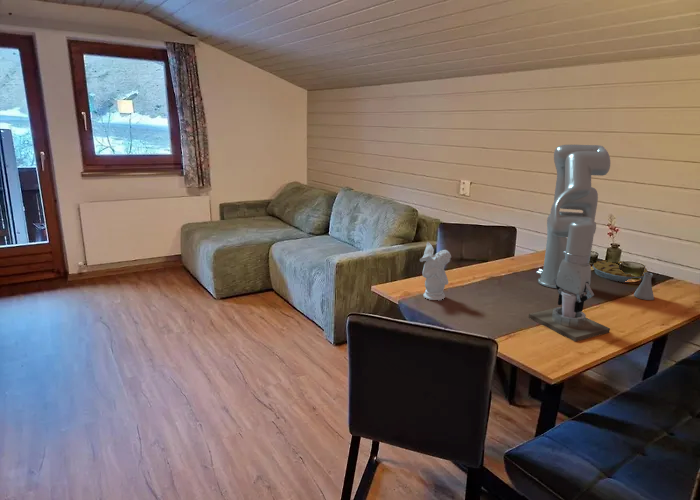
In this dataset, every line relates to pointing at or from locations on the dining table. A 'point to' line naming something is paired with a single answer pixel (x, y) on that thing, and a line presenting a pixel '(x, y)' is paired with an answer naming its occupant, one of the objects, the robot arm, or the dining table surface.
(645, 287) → the flask
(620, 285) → the dining table surface
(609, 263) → the pie
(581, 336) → the board
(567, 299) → the smoothie
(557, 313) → the collar
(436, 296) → the cherub figurine
